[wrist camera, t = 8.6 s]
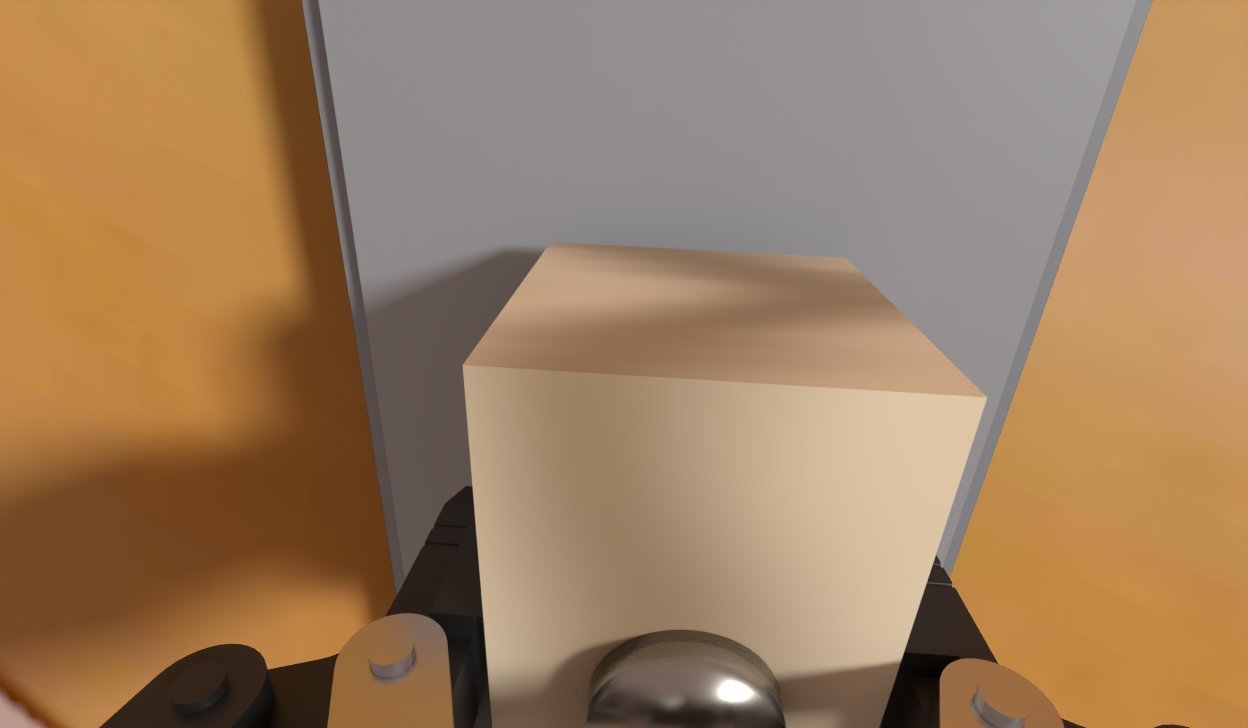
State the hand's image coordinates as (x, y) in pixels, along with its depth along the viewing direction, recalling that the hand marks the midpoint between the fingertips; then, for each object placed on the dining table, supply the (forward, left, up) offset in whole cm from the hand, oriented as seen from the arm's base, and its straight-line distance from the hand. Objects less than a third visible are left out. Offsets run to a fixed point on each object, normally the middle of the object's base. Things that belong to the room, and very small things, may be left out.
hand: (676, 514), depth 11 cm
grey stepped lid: (0, 0, -5) cm, 5 cm away
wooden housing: (0, 0, -1) cm, 1 cm away
